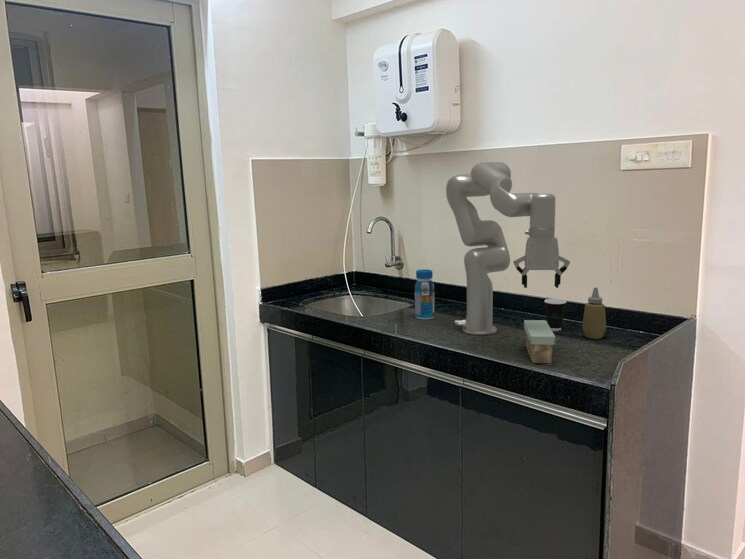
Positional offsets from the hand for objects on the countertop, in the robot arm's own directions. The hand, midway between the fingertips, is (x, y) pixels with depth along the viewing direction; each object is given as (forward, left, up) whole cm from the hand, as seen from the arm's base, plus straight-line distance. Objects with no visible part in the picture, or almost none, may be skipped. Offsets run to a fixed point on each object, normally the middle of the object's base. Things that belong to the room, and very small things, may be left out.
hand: (540, 287), depth 180 cm
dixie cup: (+10, +32, -23) cm, 40 cm away
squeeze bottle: (+22, +22, -23) cm, 38 cm away
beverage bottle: (-40, +48, -23) cm, 66 cm away
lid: (0, 0, -16) cm, 16 cm away
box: (0, 0, -22) cm, 22 cm away
